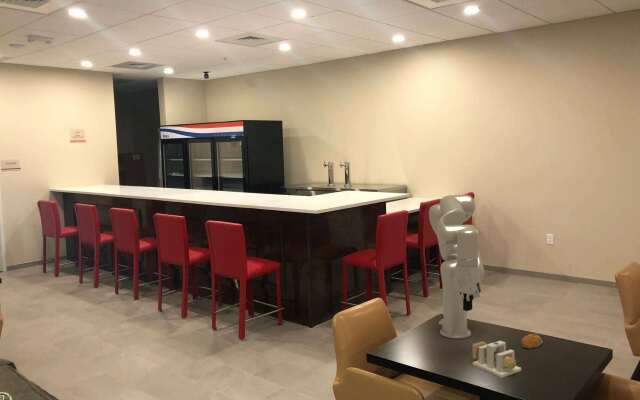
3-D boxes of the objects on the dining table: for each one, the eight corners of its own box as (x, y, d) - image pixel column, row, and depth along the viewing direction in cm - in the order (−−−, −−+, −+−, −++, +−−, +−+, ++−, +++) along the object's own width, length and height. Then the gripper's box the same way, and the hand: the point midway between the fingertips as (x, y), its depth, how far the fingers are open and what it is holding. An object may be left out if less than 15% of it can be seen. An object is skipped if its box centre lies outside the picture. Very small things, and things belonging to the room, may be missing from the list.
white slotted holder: (472, 365, 185) (472, 340, 184) (491, 358, 190) (491, 335, 189) (501, 377, 173) (501, 352, 173) (521, 370, 178) (521, 345, 178)
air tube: (472, 357, 187) (472, 344, 187) (482, 354, 190) (482, 341, 190) (507, 372, 174) (507, 358, 174) (517, 368, 177) (517, 354, 176)
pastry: (533, 351, 195) (533, 341, 195) (516, 347, 200) (516, 337, 200) (543, 344, 202) (543, 334, 202) (526, 340, 207) (526, 331, 206)
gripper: (445, 259, 194) (446, 306, 197) (475, 267, 181) (475, 317, 184) (460, 256, 198) (460, 302, 200) (490, 264, 185) (490, 313, 187)
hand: (467, 309), depth 192 cm, fingers closed
